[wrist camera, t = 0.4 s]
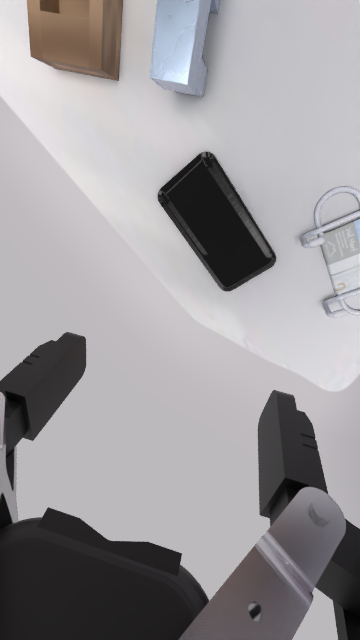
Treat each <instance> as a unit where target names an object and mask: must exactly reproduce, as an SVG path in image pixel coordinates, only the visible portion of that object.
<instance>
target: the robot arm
mask: <svg viewBox="0 0 360 640" xmlns="http://www.w3.org/2000/svg"><path fill="white" fill-rule="evenodd" d="M85 368H86V339H85V337H84V336H80V335H77V334H73V333H69V332H66V333H64V334H63V335H62V337H60V338H59V339H58V340H57V341H53V340H51V341H49V342H47V343H44V344H42V345H40V346H39V347H38V348H36V349H35V350H34V351H33V352H32V353H31V354H30V356H27V357H26V358H25V359H24V360H23V362H22V363H20V364H19V365H17V366H16V367H15V368H14V369H13V370H12V371H11V372H10V373H9V374H7V375H6V376H5V377H4V378H3V379H2V380H1V381H0V640H292V638H293V637H294V635H295V633H296V631H297V629H298V627H299V626H300V624H301V622H302V620H303V619H304V617H305V615H306V613H307V611H308V609H309V607H310V605H311V603H312V601H313V595H312V592H313V589H314V587H316V588H317V589H318V590H320V591H321V592H323V593H324V594H325V595H326V596H328V597H329V598H330V599H332V600H333V605H334V612H335V619H336V627H337V634H338V640H360V529H359V528H357V527H356V526H354V525H353V524H351V523H350V522H349V521H348V520H346V519H345V518H344V515H343V513H342V511H341V509H340V507H339V506H338V504H337V503H336V502H335V501H334V500H333V499H332V498H331V497H330V496H329V495H328V491H327V487H326V483H325V478H324V474H323V469H322V465H321V460H320V456H319V452H318V450H317V449H318V447H317V442H316V440H315V434H314V429H313V425H312V423H311V422H310V420H309V418H308V417H307V416H306V414H305V413H304V412H301V411H298V410H297V409H296V403H295V398H294V396H293V395H290V394H287V393H283V392H279V391H276V390H274V391H272V393H271V395H270V397H269V399H268V402H267V403H266V405H265V407H264V410H263V412H262V414H261V416H260V419H259V424H258V455H259V456H258V458H259V501H260V503H259V504H260V515H261V516H264V517H268V518H270V528H269V529H268V531H267V532H266V533H265V534H264V535H263V536H262V537H261V538H260V540H259V541H258V542H257V543H256V544H255V546H254V547H253V548H252V549H251V551H250V552H249V553H248V554H247V556H246V557H245V558H244V559H243V560H242V562H241V563H240V564H239V566H238V567H237V568H236V569H235V570H234V572H233V573H232V574H231V575H230V576H229V578H228V579H227V580H226V581H225V583H224V584H223V585H222V586H221V588H220V589H219V590H218V591H217V592H216V594H215V595H214V596H213V598H212V599H211V600H210V601H209V599H208V597H207V596H206V594H205V592H204V590H203V589H202V587H201V586H200V584H199V583H198V582H197V581H196V579H195V578H194V577H193V576H192V575H191V574H190V573H189V572H188V571H187V570H186V569H185V568H184V567H183V566H181V565H180V561H181V555H182V554H181V553H179V552H176V551H173V550H170V549H167V548H164V547H161V546H158V545H155V544H153V543H149V542H130V541H110V540H107V539H106V538H104V537H103V536H102V535H101V534H99V533H98V532H97V531H95V530H94V529H93V528H92V527H90V526H89V525H88V524H86V523H85V522H84V521H82V520H81V519H80V518H77V517H74V516H71V515H69V514H65V513H63V512H60V511H57V510H54V509H51V508H47V510H46V512H45V514H44V515H43V517H42V518H30V519H26V520H22V521H18V511H17V503H16V455H17V453H16V451H17V450H16V445H17V444H18V442H19V441H20V440H21V439H22V437H23V438H26V439H29V440H32V441H33V440H34V439H35V437H36V436H37V435H38V434H39V432H40V431H41V430H42V428H43V427H44V426H45V425H46V423H47V422H48V421H49V419H50V418H51V417H52V415H53V414H54V413H55V412H56V410H57V409H58V408H59V406H60V405H61V404H62V402H63V401H64V400H65V398H66V397H67V396H68V394H69V393H70V392H71V390H72V389H73V388H74V387H75V385H76V384H77V383H78V381H79V380H80V379H81V377H82V376H83V373H84V371H85Z"/></svg>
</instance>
